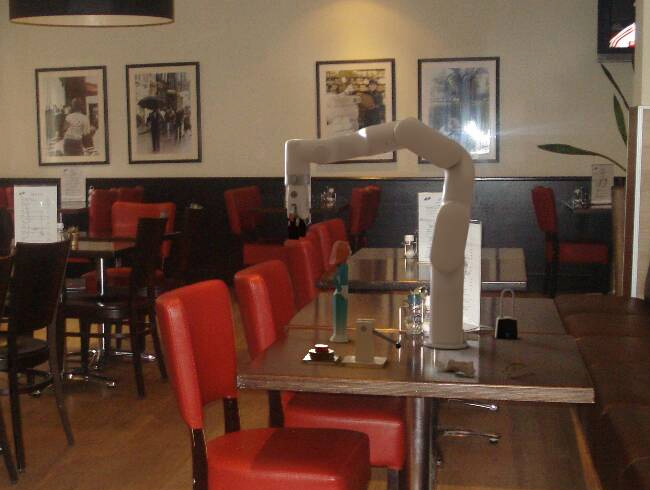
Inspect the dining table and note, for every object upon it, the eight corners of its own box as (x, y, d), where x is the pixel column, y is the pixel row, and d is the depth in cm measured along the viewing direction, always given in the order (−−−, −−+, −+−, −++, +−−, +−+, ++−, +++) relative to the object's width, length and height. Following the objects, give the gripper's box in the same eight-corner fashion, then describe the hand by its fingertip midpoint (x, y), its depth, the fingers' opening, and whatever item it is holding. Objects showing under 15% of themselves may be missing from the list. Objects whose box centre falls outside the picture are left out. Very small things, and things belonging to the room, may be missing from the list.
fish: (504, 380, 258) (505, 360, 258) (499, 379, 260) (499, 359, 259) (534, 374, 265) (535, 354, 265) (528, 373, 266) (529, 353, 266)
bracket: (387, 362, 281) (387, 318, 279) (383, 368, 272) (383, 324, 271) (346, 359, 284) (347, 316, 283) (341, 366, 275) (341, 322, 274)
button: (329, 351, 282) (329, 344, 282) (327, 353, 279) (327, 347, 278) (316, 350, 283) (316, 344, 283) (313, 353, 280) (314, 346, 279)
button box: (340, 359, 284) (340, 349, 283) (335, 365, 276) (336, 354, 276) (308, 358, 286) (308, 347, 286) (302, 363, 278) (302, 352, 278)
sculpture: (349, 344, 306) (350, 242, 303) (326, 343, 307) (327, 242, 304) (352, 336, 318) (353, 238, 315) (330, 336, 320) (331, 238, 317)
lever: (400, 348, 277) (404, 340, 277) (398, 351, 272) (402, 343, 272) (359, 327, 280) (363, 319, 279) (356, 330, 275) (360, 322, 275)
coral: (437, 370, 270) (437, 353, 269) (477, 374, 265) (478, 357, 264) (431, 374, 265) (431, 357, 264) (472, 378, 260) (472, 361, 259)
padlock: (517, 336, 318) (518, 288, 317) (518, 339, 314) (520, 289, 312) (494, 336, 319) (495, 287, 318) (495, 338, 315) (497, 289, 314)
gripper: (304, 181, 301) (303, 241, 303) (315, 180, 318) (315, 236, 319) (278, 181, 303) (278, 240, 305) (291, 180, 320) (291, 235, 322)
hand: (297, 238), depth 312 cm, fingers open, 9 cm apart
